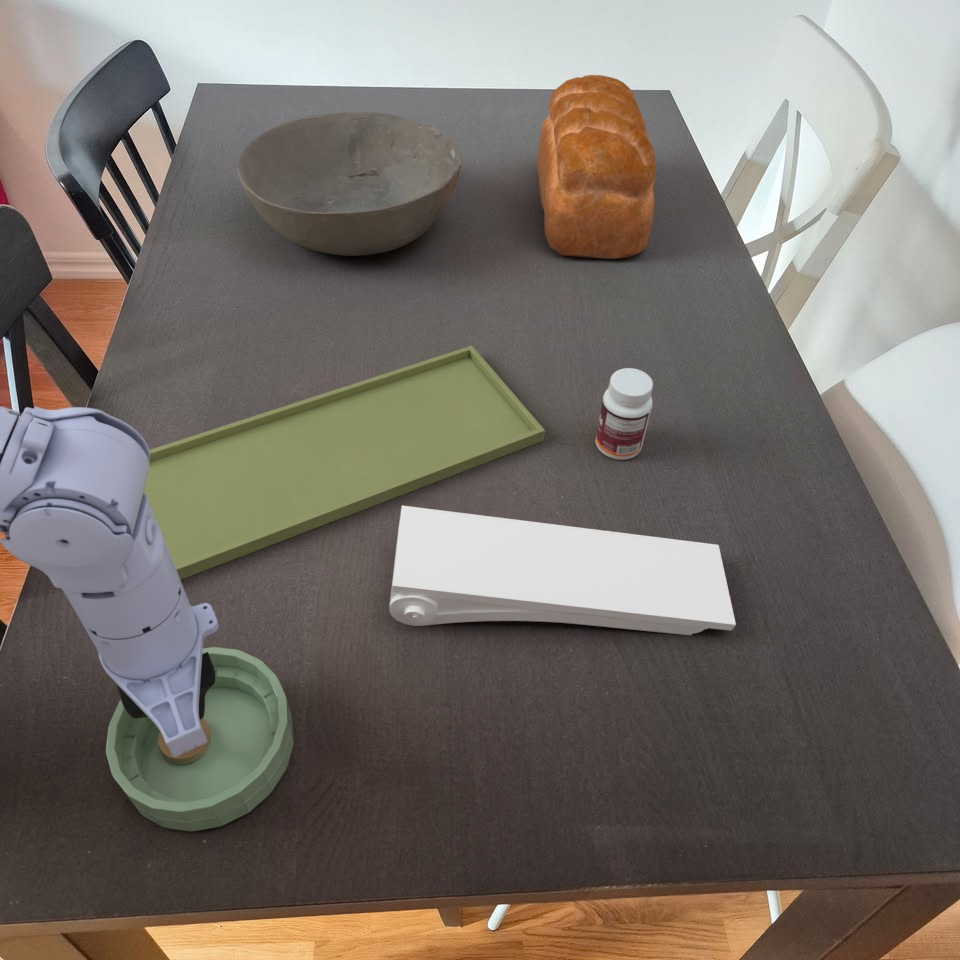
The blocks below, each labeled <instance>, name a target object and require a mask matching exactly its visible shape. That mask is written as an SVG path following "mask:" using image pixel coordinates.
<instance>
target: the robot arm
mask: <svg viewBox="0 0 960 960" xmlns="http://www.w3.org/2000/svg"><path fill="white" fill-rule="evenodd" d="M149 450H150V447H149V445H148V443H147V441H146V440H145V438H144V437H143V436H142V434H140V432H138V430H136V429H135V428H134V427H133V426H131V425H130V424H129V423H127V422H125V421H124V420H122V419H119V418H117V417H115V416H112V415H110V414H108V413H106V412H105V411H103V410H101V409H98V408H93V407H79V406H78V407H77V406H74V407H65V408H59V409H47V408H43V407H40V406H35V405H34V408H32V407H28V406H27V407H24V410H23V411H22V413H21V412H20V411H17V410H14V409H11V408H8V407H5V406H2V405H0V533H2V534H4V535H3V536H4V537H3V538H1V539H0V544H1V546H2V547H3V548H4V549H5V550H6V551H7V552H8V553H9V554H11V555H12V556H13V557H15V558H16V559H18V560H19V561H21V562H23V563H25V564H26V565H28V566H31V567H33V568H35V569H37V570H39V571H41V572H42V573H43V574H45V575H46V576H47V577H48V578H49V580H50V582H51V584H52V585H53V587H54V588H55V589H61V590H62V592H63V593H64V595H65V596H66V598H67V600H68V602H69V604H70V605H71V607H72V608H73V611H74V612H75V614H76V615H77V617H78V619H79V620H80V623H81V624H82V626H83V628H84V629H85V631H86V633H87V634H88V636H89V638H90V640H91V641H92V643H93V645H94V647H95V649H96V650H97V653H98V659H99V662H100V664H101V666H102V668H103V669H104V671H105V674H107V676H109V678H110V679H111V680H112V681H113V682H114V683H115V684H116V689H117V691H118V694H119V697H120V700H121V701H122V704H123V706H124V708H125V710H126V711H127V713H128V714H129V715H130V716H132V717H133V718H142V717H149V718H150V719H151V720H152V721H153V722H154V724H155V725H156V726H157V727H158V728H159V730H160V731H161V733H162V735H163V737H164V740H165V743H166V745H167V746H168V748H169V750H170V752H171V754H172V755H173V757H177V756H179V755H181V754H183V753H184V752H185V753H186V752H188V751H190V750H192V749H195V748H197V747H198V746H201V745H203V744H205V743H207V739H206V736H205V733H204V731H203V729H202V726H201V724H200V720H201V719H203V717H204V712H205V695H206V693H207V691H208V690H209V689H210V687H212V686H213V685H214V683H215V669H214V666H213V664H212V661H211V659H210V656H209V654H208V652H206V653H203V654H202V651H203V648H204V640H205V639H206V638H207V637H208V636H210V635H212V634H214V633H216V632H217V631H218V630H219V628H220V625H219V622H218V618H217V616H216V613H215V612H214V608H213V606H212V605H211V604H210V603H207V602H203V603H202V602H201V603H200V604H199V603H198V604H197V605H191V603H190V601H189V597H188V596H187V593H186V590H185V588H184V586H183V582H182V581H181V580H180V577H179V575H178V572H177V570H176V567H175V565H174V562H173V560H172V557H171V555H170V552H169V550H168V547H167V544H166V542H165V539H164V537H163V534H162V532H161V529H160V527H159V525H158V523H157V520H156V518H155V515H154V513H153V510H152V508H151V505H150V503H149V500H148V498H147V496H146V494H145V493H143V492H144V488H145V484H146V481H147V477H148V473H149V463H150V451H149ZM196 746H197V747H196Z"/></svg>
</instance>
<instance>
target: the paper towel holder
mask: <svg viewBox="0 0 960 960" xmlns="http://www.w3.org/2000/svg"><path fill="white" fill-rule="evenodd" d="M200 724H201V726H202V729H203V731H204V733H205V736H206V739H207V743H205V744H203V745H201V746H198V747H197V746H196V747H197V748H195V749H192V750H190V751H188V752H186V753H185V752H184V753H183V754H181V755H179V756H177V757H173V755H172V754H171V752H170V750H169V748H168V746H167V745H166V743H165V740H164V737H163V735H162V733H161V731H160V732H159V735H158V745H159V749H160V752H161V754H162V756H163V757H164V758H165V759H166V760H168V761H170V762H172V763H176V764H186V763H190V762H193V761H195V760H197V759H198V758H200V757H201V756H202V755H203V754H204V753H205V752H206V751H207V749H208V747H209V745H210V742H211V733H210V727H209V725H208V723H207V722H206V721H205V720H204V719H201V720H200Z"/></svg>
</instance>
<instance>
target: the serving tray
mask: <svg viewBox="0 0 960 960" xmlns="http://www.w3.org/2000/svg"><path fill="white" fill-rule="evenodd" d="M545 435H546V430H545V428H544V427H543V426H542V425H541V424H540V423H539V421H537V419H536V418H535V417H534V416H533V414H531V412H530V411H529V410H528V408H526V406H525V404H523V403H522V402H521V401H520V400H519V398H518V397H517V396H516V395H515V393H514V392H513V391H512V390H511V389H510V388H509V387H508V385H507V384H506V383H505V382H504V381H503V380H502V379H501V377H500V376H499V375H498V374H497V373H496V371H495V370H494V369H493V368H492V367H491V366H490V364H488V362H487V361H486V360H485V359H484V358H483V356H482V355H481V353H479V352H478V350H476V348H475V347H474V345H469V346H466V347H462V348H459V349H456V350H453V351H451V352H447V353H445V354H441V355H438V356H434V357H432V358H428V359H426V360H423V361H419V362H417V363H413V364H410V365H407V366H404V367H400V368H398V369H394V370H392V371H389V372H386V373H382V374H379V375H377V376H373V377H370V378H367V379H364V380H361V381H358V382H355V383H352V384H349V385H346V386H342V387H340V388H336V389H333V390H329V391H327V392H324V393H321V394H317V395H314V396H312V397H308V398H306V399H302V400H299V401H296V402H292V403H290V404H287V405H284V406H281V407H278V408H275V409H272V410H268V411H265V412H262V413H259V414H255V415H252V416H250V417H247V418H244V419H240V420H237V421H235V422H231V423H228V424H224V425H222V426H219V427H216V428H212V429H211V430H207V431H204V432H200V433H197V434H193V435H191V436H188V437H185V438H182V439H179V440H176V441H173V442H169V443H166V444H164V445H160V446H157V447H154V448H151V449H149V451H150V463H149V473H148V477H147V481H146V484H145V488H144V492H143V493H145V494H146V496H147V498H148V500H149V503H150V505H151V508H152V510H153V513H154V515H155V518H156V520H157V523H158V525H159V527H160V529H161V532H162V534H163V537H164V539H165V542H166V544H167V547H168V550H169V552H170V555H171V557H172V560H173V562H174V565H175V567H176V570H177V572H178V575H179V577H180V580H185V579H187V578H189V577H192V576H194V575H198V574H200V573H202V572H205V571H208V570H210V569H213V568H215V567H218V566H220V565H223V564H227V563H229V562H232V561H234V560H236V559H239V558H242V557H244V556H247V555H249V554H252V553H255V552H258V551H261V550H262V549H265V548H268V547H270V546H274V545H275V544H279V543H281V542H283V541H286V540H289V539H291V538H293V537H297V536H299V535H301V534H302V535H303V534H305V533H307V532H310V531H312V530H314V529H317V528H320V527H322V526H326V525H327V524H330V523H333V522H336V521H339V520H341V519H343V518H346V517H349V516H351V515H354V514H357V513H359V512H362V511H365V510H367V509H369V508H372V507H376V506H377V505H380V504H383V503H385V502H388V501H390V500H393V499H395V498H399V497H401V496H403V495H406V494H409V493H411V492H414V491H416V490H419V489H423V488H425V487H427V486H430V485H433V484H434V483H438V482H440V481H442V480H446V479H447V478H448V479H449V478H450V477H454V476H456V475H458V474H462V473H464V472H467V471H468V470H471V469H474V468H476V467H477V468H478V467H479V466H481V465H484V464H487V463H489V462H493V461H494V460H498V459H500V458H503V457H505V456H508V455H511V454H514V453H516V452H519V451H521V450H523V449H526V448H529V447H531V446H533V445H534V446H535V445H537V444H539V443H542V442H544V441H545Z"/></svg>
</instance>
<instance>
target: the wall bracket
mask: <svg viewBox="0 0 960 960" xmlns="http://www.w3.org/2000/svg"><path fill="white" fill-rule="evenodd" d="M395 546H396V548H395V556H394V562H393V563H394V564H393V573H392V581H391V590H390V598H389V608H388V611H389V614H390V616H391V617H392V618H393V619H394V620H396V621H397V622H400V623H401V624H404V625H408V626H412V627H413V626H414V627H426V626H432V625H443V624H444V625H445V624H454V623H472V622H474V623H475V622H512V621H513V622H545V623H560V624H561V623H563V624H573V625H585V626H592V627H593V626H594V627H606V628H613V629H624V630H634V631H645V632H652V633H653V632H654V633H665V634H673V635H682V636H683V635H684V636H692V635H693V634H697V633H698V634H699V633H701V632H703V631H704V630H708V629H713V630H722V631H733V630H734V628H735V627H736V626H737V623H736V619H735V614H734V609H733V605H732V600H731V595H730V591H729V587H728V583H727V582H728V581H727V576H726V573H725V568H724V563H723V559H722V554H721V550H720V545H719V544H715V543H708V542H707V543H706V542H699V541H692V540H683V539H674V538H666V537H660V536H659V537H658V536H650V535H644V534H643V535H642V534H635V533H634V534H633V533H626V532H618V531H611V530H602V529H594V528H587V527H578V526H570V525H562V524H556V523H555V524H554V523H545V522H539V521H530V520H521V519H515V518H507V517H506V518H505V517H499V516H498V517H497V516H490V515H481V514H474V513H465V512H459V511H458V512H457V511H449V510H441V509H435V508H434V509H432V508H425V507H417V506H411V505H410V506H409V505H401V509H400V515H399V524H398V531H397V537H396V545H395Z"/></svg>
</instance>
